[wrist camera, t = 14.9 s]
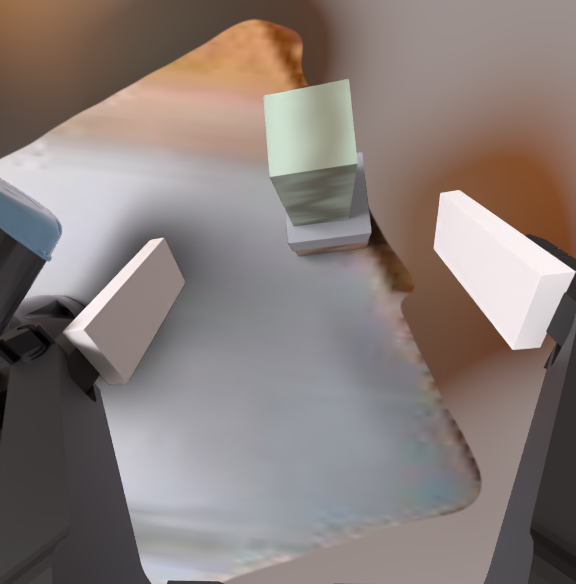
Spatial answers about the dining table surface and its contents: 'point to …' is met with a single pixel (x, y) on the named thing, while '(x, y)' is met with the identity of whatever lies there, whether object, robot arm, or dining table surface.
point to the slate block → (336, 222)
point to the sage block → (312, 151)
